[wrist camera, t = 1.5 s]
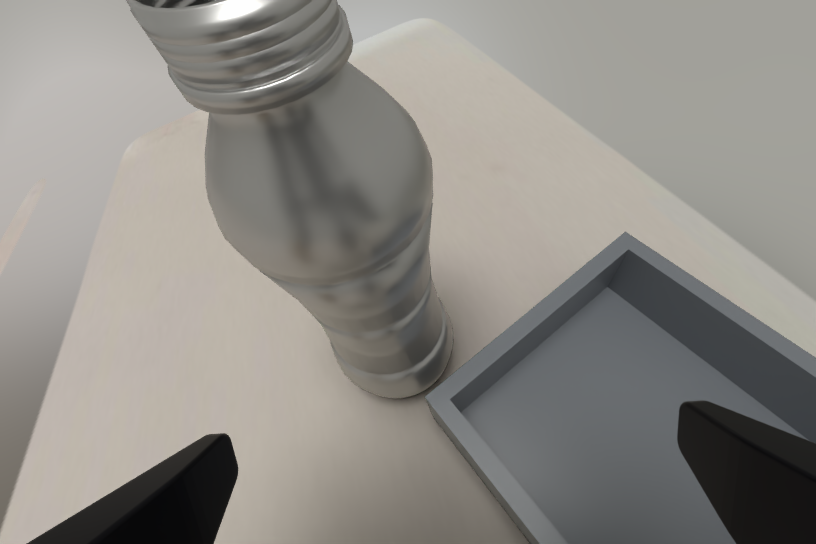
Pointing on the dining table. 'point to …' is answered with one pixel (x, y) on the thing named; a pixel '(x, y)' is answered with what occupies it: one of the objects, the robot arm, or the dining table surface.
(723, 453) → the robot arm
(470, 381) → the tote
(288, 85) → the plastic bottle
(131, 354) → the dining table surface
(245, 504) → the dining table surface
